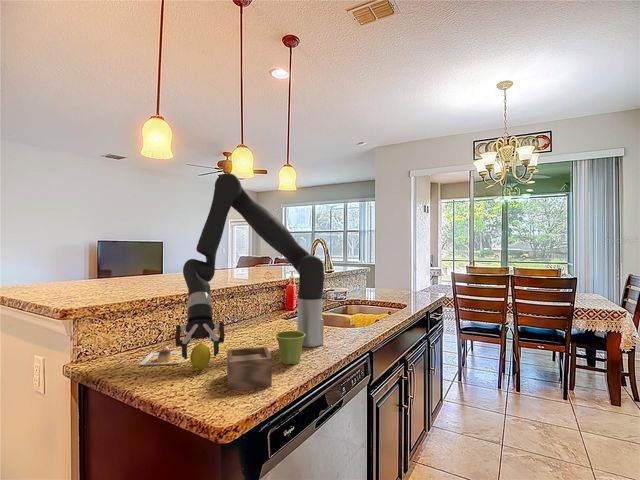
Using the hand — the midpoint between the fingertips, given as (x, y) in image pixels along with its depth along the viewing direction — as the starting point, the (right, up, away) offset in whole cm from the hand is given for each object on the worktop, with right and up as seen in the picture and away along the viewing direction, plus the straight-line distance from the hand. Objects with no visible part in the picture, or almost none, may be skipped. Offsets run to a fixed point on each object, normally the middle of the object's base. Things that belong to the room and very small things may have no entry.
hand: (200, 356), depth 100 cm
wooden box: (+15, -5, -6) cm, 17 cm away
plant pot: (+25, -5, +10) cm, 27 cm away
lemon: (-1, -5, +1) cm, 5 cm away
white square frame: (-15, -5, +11) cm, 20 cm away
